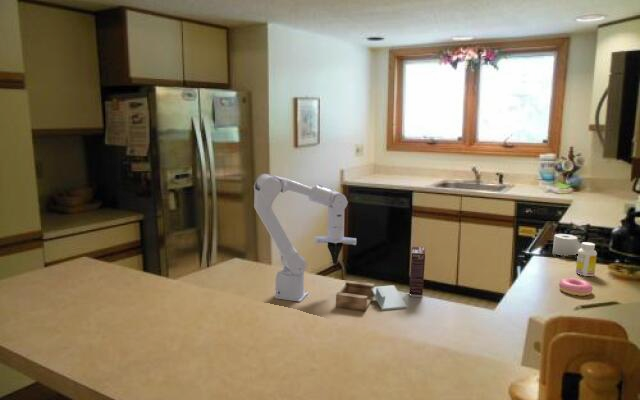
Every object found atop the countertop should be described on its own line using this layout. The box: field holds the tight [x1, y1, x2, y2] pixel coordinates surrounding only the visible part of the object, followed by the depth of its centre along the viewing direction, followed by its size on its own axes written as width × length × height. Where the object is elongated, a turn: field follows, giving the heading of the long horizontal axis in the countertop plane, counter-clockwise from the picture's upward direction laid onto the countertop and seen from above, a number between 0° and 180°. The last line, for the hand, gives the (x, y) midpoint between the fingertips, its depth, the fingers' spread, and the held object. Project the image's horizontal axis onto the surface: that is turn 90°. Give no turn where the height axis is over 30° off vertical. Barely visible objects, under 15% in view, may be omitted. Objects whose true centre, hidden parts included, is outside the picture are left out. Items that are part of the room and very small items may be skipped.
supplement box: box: [408, 246, 426, 298], centre depth 171 cm, size 9×5×16 cm, turn 168°
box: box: [335, 280, 376, 313], centre depth 164 cm, size 10×14×4 cm
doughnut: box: [558, 277, 594, 297], centre depth 176 cm, size 11×11×4 cm
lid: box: [371, 284, 407, 311], centre depth 163 cm, size 9×11×3 cm
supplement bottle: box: [575, 241, 598, 277], centre depth 193 cm, size 7×7×13 cm
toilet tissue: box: [552, 233, 582, 256], centre depth 220 cm, size 9×13×9 cm
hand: (335, 263), depth 172 cm, fingers closed
